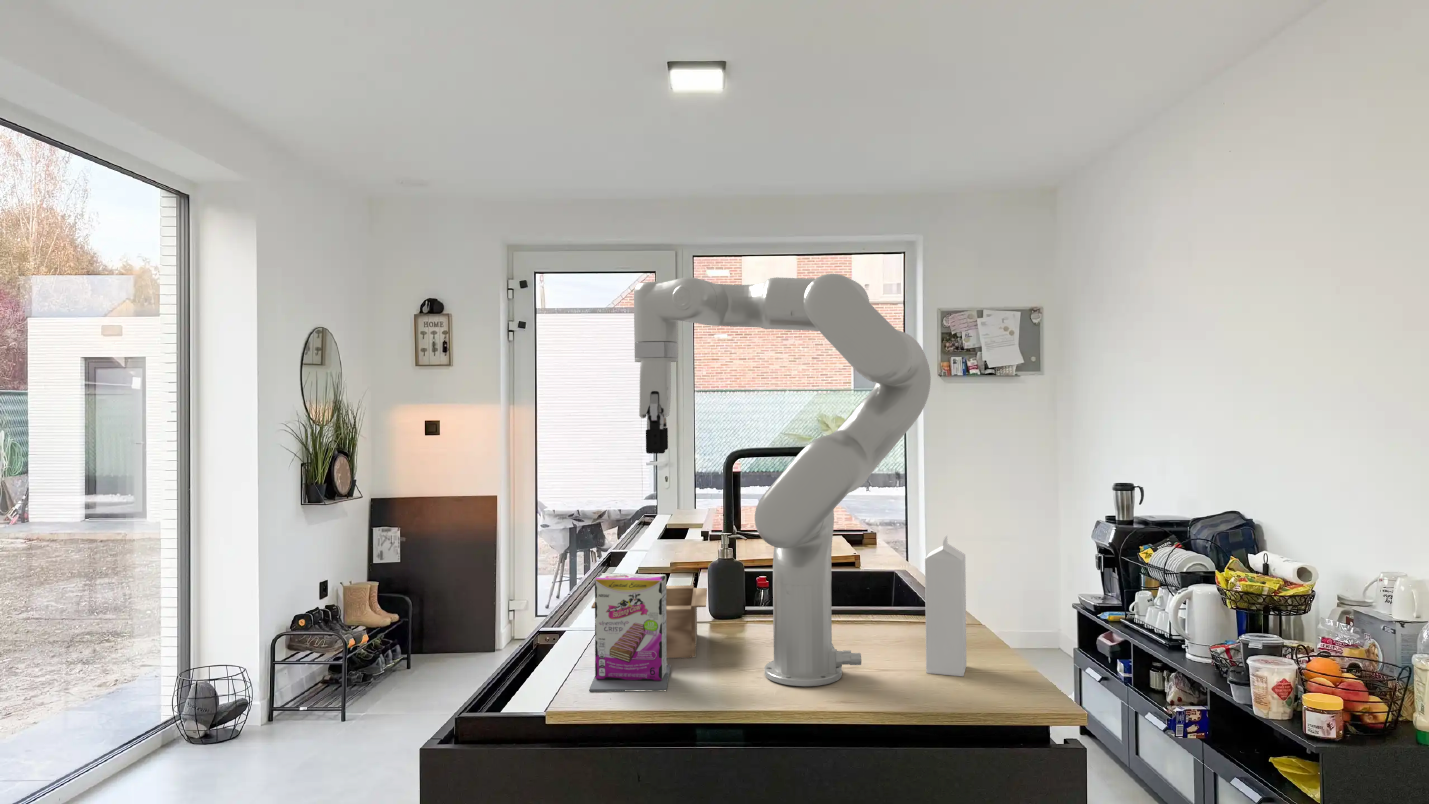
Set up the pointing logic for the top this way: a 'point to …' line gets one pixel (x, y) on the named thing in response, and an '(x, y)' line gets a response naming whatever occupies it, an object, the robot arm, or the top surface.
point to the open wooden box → (682, 619)
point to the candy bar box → (630, 626)
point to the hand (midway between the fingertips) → (657, 451)
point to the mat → (629, 684)
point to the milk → (945, 611)
